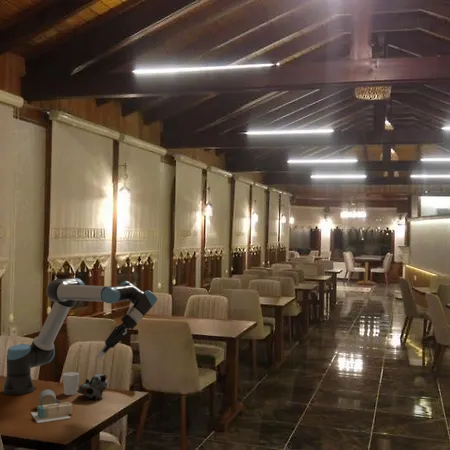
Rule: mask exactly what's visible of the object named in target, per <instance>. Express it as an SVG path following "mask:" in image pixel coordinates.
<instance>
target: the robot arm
mask: <svg viewBox="0 0 450 450" xmlns="http://www.w3.org/2000/svg"><path fill="white" fill-rule="evenodd" d="M47 284H48V285H47V286H46V290H45V292H46V297H48V299H49V300H50V301H51V302H54V303H53V305H52V307H51V310H50V312H49V314H48V316H47V317H46V319H45V322H44V323H43V325H42V328H41V330H40V332H39V335H38V336H35V337H34V338H33V340H32V342H31V344H29V343H20V344H16V345H15V344H14V345H12V346H10V347H8V348H7V350H6V351H7V352H6V378H5V382H4V384H3V386H2V393H3V394H4V395H7V396H10V395H11V396H16V395H19V396H20V395H25V394H29V393H32V392H33V391H34V390H35V385H34V381H33V379H32V376H31V368H36V367H40V366H44V365H45V366H46V365H47V364H49V363H51V362H52V360H53V359H54V357H55V354H56V351H55V350H56V349H55V344H54V342H55V340H56V337H57V335H58V334H59V332H60V330H61V328H62V326H63V324H64V321H65V320H66V317H67V316H68V313H69V311H70V310H71V309H73V308H74V307H75V305H76V304H77V302H78V301H82V302H83V301H85V302H102V303H105V304H116V303H120V302H130V303H131V304H133V305H132V306H131V307H130V308H129V309H128V310H127V311H126V313H125V314H124V315H123V316H122V317H121V318H120V321H121V323H120V324H118V326H117V325H116V326H115V327H114V328H113V330H112V332H111V333H110V334H109V336H108V337H107V338H106V339H105V341H104V344H103V346H102V347H101V348H100V349H99V350H98V352H97V353H96V354H95V356H96V357H97V358H98V359H100V360H101V359H102V358H103V357H104V356H105V355H106V354H107V352H109V350H110V349H111V348H112V349H113V348H114V347H115V346H117V345H118V344H119V343H120V342H121V341H122V340H123V338H125V337H126V336H128V334H129V332H128V331H129V330H134V329H135V327H136V326H137V324H139V322H140V321H142V320H143V318H144V317H145V315H147V313H148V312H149V311H150V310H151V309H152V308H153V307H154V305H156V303H157V301H158V297H157V296H156V295H155V294H154V292H152V291H151V290H149V289H148V290H145V291H142V290H141V289H140V288H139V287H137V286H136V285H135V284H134V283H132V282H130V281H128V280H124V281H123V282H121V283H120V284H119V286H118V285H117V286H105V285H88V284H87V285H86V284H85V283H84V282H83V280H81V278H78V277H69V278H58V279H54V280H51V281H50V282H49V283H47Z"/></svg>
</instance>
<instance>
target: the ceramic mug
mask: <svg viewBox="0 0 450 450" xmlns="http://www.w3.org/2000/svg"><path fill="white" fill-rule="evenodd" d="M38 402H39V404H40V405H39V406H41V405H48V404H55V403H63V402H62V401H61V400H60V399H57V398H56V393H55V392H54V391H53V390H52V389H44V390H42V391H41V392H40V394H39V395H38Z"/></svg>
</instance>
